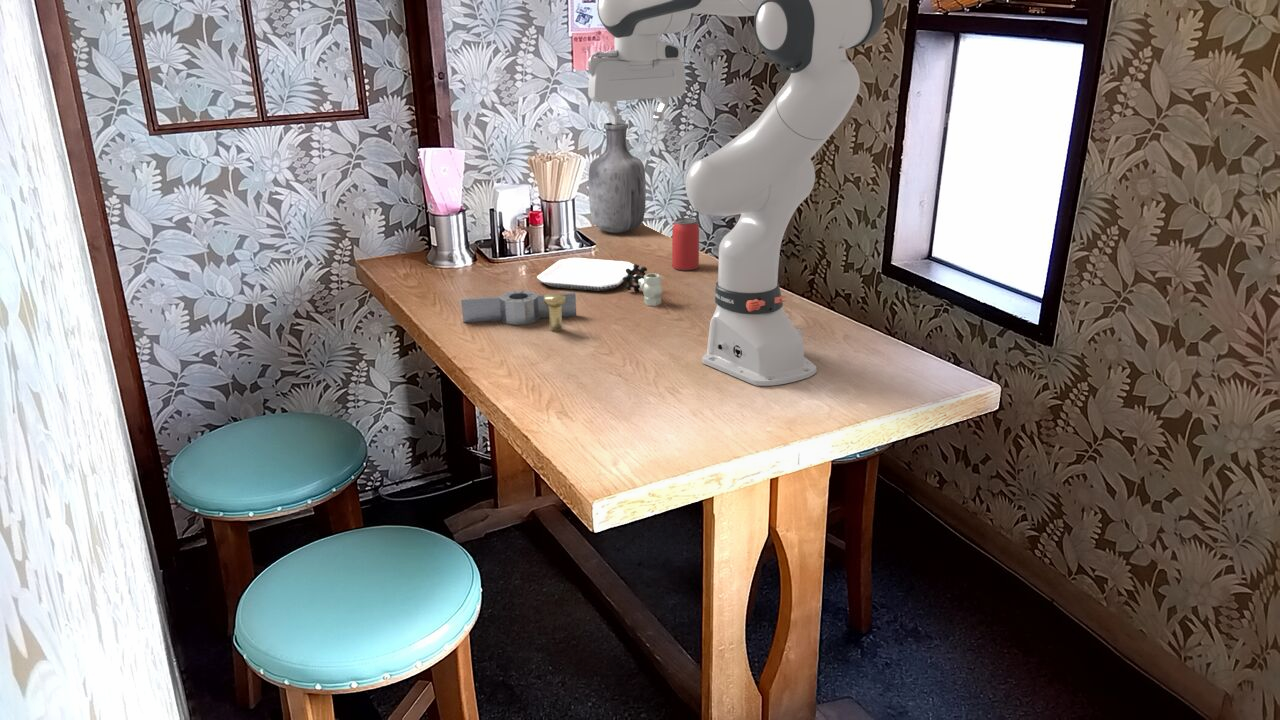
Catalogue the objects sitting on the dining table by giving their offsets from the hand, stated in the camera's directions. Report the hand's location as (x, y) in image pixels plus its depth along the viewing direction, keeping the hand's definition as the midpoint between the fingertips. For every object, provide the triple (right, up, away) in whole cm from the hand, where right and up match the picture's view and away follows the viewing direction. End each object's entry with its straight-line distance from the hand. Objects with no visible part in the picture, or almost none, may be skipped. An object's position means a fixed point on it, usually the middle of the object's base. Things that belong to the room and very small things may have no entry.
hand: (637, 122), depth 190 cm
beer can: (+12, -25, +47) cm, 55 cm away
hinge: (-25, -39, +13) cm, 48 cm away
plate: (-12, -28, +40) cm, 50 cm away
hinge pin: (-17, -41, +7) cm, 45 cm away
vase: (-6, -11, +82) cm, 83 cm away
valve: (+2, -34, +25) cm, 42 cm away
